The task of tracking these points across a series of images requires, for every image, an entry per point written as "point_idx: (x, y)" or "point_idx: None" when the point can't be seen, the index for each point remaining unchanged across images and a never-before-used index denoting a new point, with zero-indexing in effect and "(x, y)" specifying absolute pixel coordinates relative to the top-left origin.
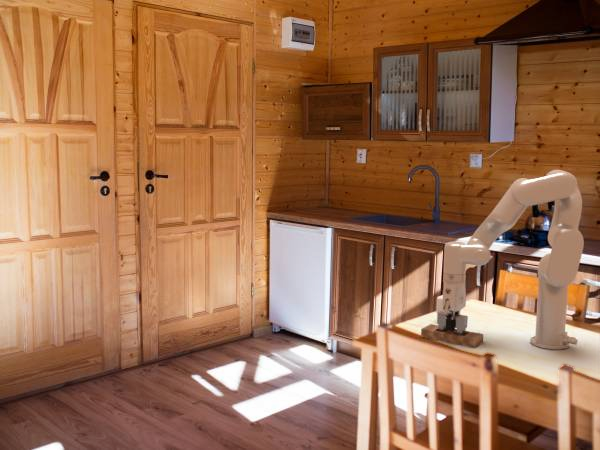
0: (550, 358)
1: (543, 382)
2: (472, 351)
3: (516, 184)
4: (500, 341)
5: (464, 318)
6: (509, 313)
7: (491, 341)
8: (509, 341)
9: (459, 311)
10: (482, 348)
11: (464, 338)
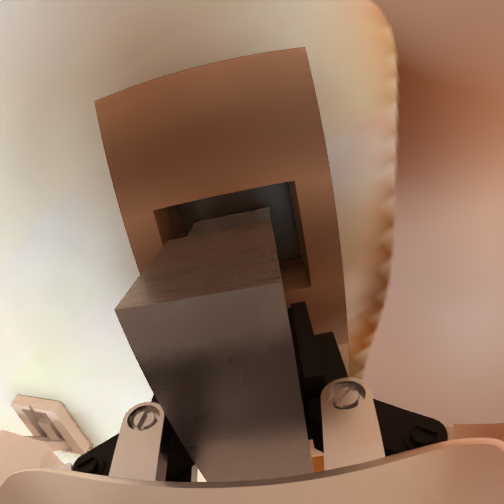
0: None
1: None
2: (371, 44)
3: None
4: (31, 66)
5: (266, 279)
6: None
7: (64, 93)
8: (5, 45)
9: (134, 458)
10: (252, 25)
11: (325, 152)
